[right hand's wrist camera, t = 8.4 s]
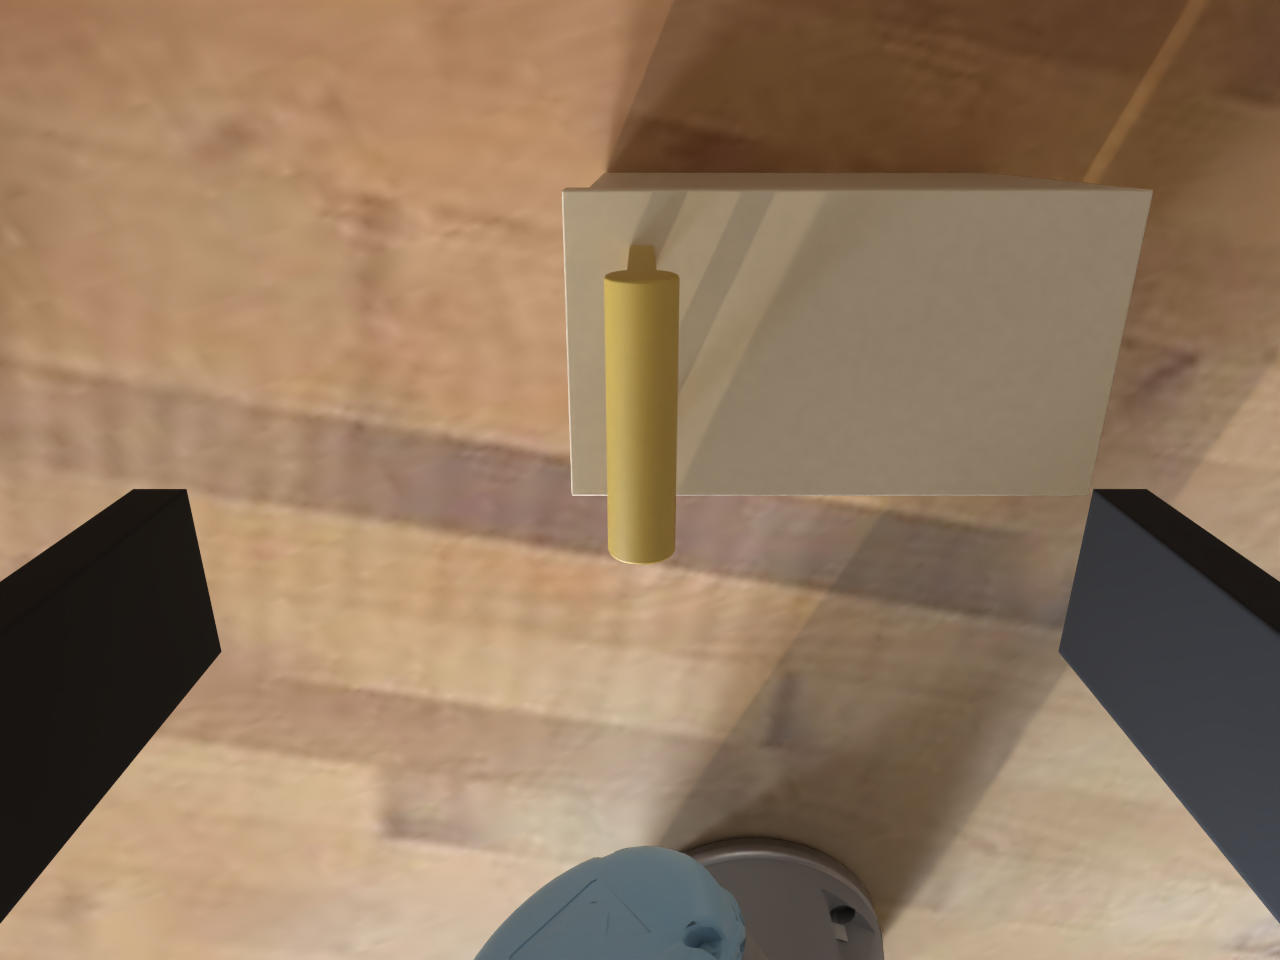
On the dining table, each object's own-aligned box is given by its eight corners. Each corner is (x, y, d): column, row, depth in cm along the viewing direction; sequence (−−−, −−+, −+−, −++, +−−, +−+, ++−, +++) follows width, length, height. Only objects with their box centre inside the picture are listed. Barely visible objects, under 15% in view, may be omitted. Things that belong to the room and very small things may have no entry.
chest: (606, 390, 38) (594, 482, 28) (603, 172, 35) (587, 187, 25) (956, 390, 38) (1072, 483, 28) (988, 172, 35) (1132, 187, 25)
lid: (574, 483, 28) (548, 616, 20) (564, 187, 25) (529, 210, 17) (1073, 483, 28) (1239, 616, 20) (1133, 187, 24) (1361, 211, 17)
